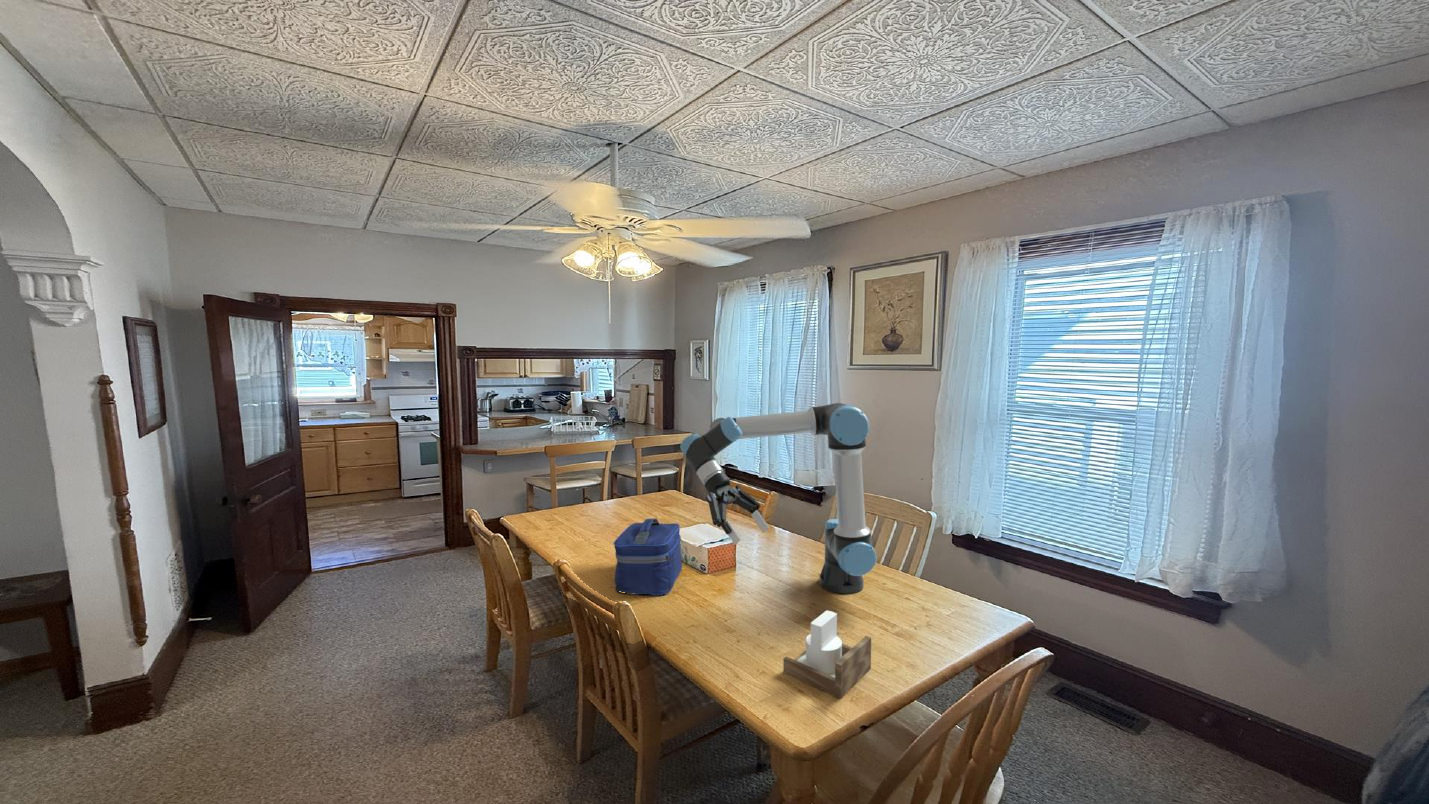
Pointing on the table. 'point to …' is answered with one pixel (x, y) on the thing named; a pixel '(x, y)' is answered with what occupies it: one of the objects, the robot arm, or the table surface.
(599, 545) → the table surface
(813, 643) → the base with upright slab
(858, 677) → the walnut rest
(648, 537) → the lunch bag
